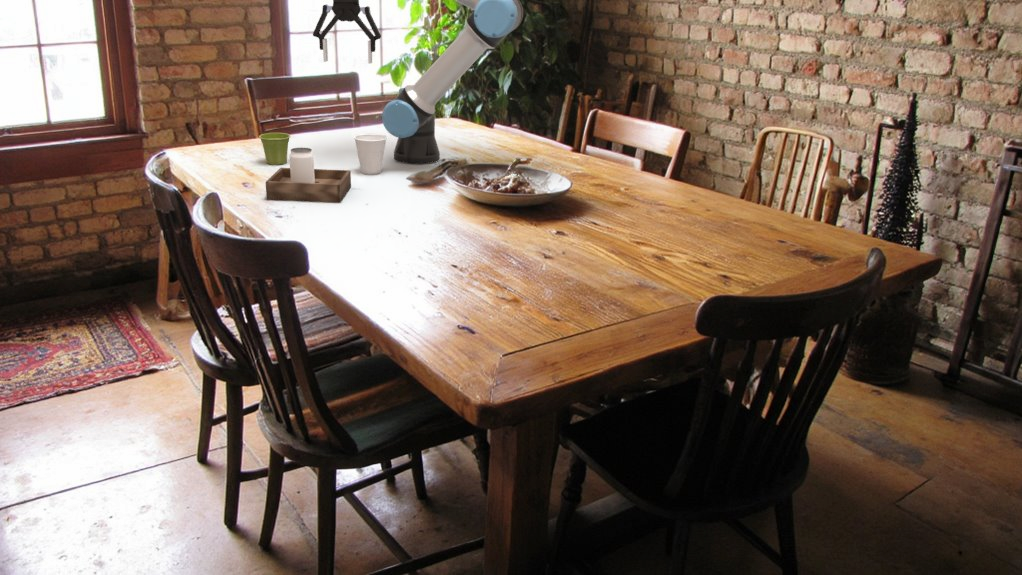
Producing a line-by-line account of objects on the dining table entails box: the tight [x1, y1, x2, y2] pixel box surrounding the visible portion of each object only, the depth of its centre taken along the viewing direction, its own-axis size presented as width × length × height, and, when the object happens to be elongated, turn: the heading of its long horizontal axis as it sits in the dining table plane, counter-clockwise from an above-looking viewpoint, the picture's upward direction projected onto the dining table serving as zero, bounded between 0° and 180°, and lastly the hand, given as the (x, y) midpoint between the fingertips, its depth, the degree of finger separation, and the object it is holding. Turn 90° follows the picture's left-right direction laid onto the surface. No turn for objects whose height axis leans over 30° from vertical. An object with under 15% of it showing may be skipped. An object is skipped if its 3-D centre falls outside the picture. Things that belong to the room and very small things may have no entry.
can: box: [289, 147, 315, 183], centre depth 234 cm, size 6×6×12 cm
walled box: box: [265, 167, 352, 204], centre depth 236 cm, size 20×16×5 cm
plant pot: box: [258, 132, 291, 166], centre depth 265 cm, size 9×9×9 cm
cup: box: [353, 133, 388, 176], centre depth 259 cm, size 10×10×11 cm
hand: (348, 62), depth 258 cm, fingers open, 13 cm apart
